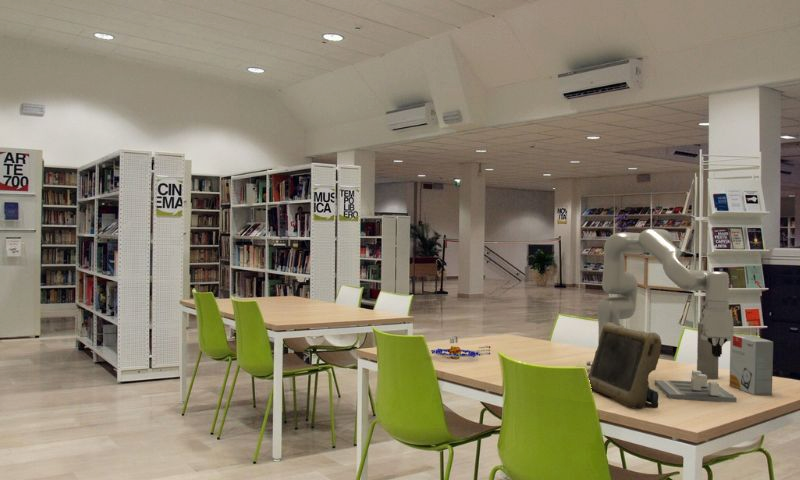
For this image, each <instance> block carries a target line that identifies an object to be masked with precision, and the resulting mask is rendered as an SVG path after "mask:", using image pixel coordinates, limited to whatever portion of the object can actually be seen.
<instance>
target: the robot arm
mask: <svg viewBox="0 0 800 480" xmlns="http://www.w3.org/2000/svg"><path fill="white" fill-rule="evenodd" d="M673 242H674V238H673V235H672V234H671V233H670V231H668V230H666V229H663V228H662V229H661V228H648V229H644V230H643V231H641V232H629V231H628V232H627V231H625V232H624V231H623V232H616V233H613V234H610V236H609V237H608V238H607V239H606V240H605V242H604V247H603V255H604V257H603V259H604V260H603V270H602V280H601V281H602V284H601V285H602V286H601V287H602V289H603V291H604V292H605V293H606V294H608V295H617V296H610V297H609V296H608V297H603V298H601V299H600V300H599V301H598V302H597V304H596V314H597V315H596V316H597V323H598V334H597V335H598V338H597V339H598V340H597V341H598V343H597V344H598V345H599V338H600V336H601V332H602V329H603V326H604V325H605V324H606V323H608V322H613V323H614V324H615V325H617V326H622V325H621V322H620V320H626V319H629V318H632V317H633V315H634V314H635V312H636V307H637V299H638V280H637V278H636V276H635V275H634V274H633V273H631V272H630V271H625V270H626V269H625V268H626V267H625V266H626V260H625V257H624V255H623V254H644V253H648V254H650V255H651V256H652V257H653V258H654V259H655V260H656V261H657V262H659V263H660V264H661V265H662V268H663V271H664V274H665V275H666V276H667V278H668V279H669V280H670V281H672V283H674V285H676V286H677V287H679V288H680V289H681V290H684V291H688V292H689V291H690V292H691V291H693V292H694V291H705V300H704V301H701V303H700V305H701V306H703V307H705V308H703V309H704V310H703V311H702V313H703V314H701V316H702V322H701V339H703V340H707V341H708V342H709V343H710V344H711V345H712V354H713V356H715V357H719V358H721V355H723V346H724V344H726V342H730V341H732V340H733V336H734V335H735V334H734V332H735V331H734V328H735V327H734V319H733V313H732V310H731V309H729V308H730V307H729V306H730V298H729V297H730V296H729V290H730V289H729V286H730V283H729V281H730V280H729V273H727V272H725V271H715V270H714V271H708V270H703V269H695V270H694V269H692V270H690V269H689V268H686V267H685V266H684V265H683V264H682V263H681V262H680V261H679V260H678V259H679V257H680V255H681V250H680V249H679V248H678V247H677V246H675V244H674V243H673ZM709 337H710V338H709ZM715 337H716V338H718V342H717V344H716V339H715ZM592 363H593V361H590V360H589V361H587V360H586V366H588V367H591V366H592Z"/></svg>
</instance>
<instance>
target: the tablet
mask: <svg viewBox="0 0 800 480" xmlns="http://www.w3.org/2000/svg"><path fill="white" fill-rule="evenodd" d="M598 338H599V337H598ZM661 348H662V339H661V336H660V335H659V333H656V332H653V331H652V332H646V331H641V330H636V329H632V328H627V327H626V326H625V325H621V326H617V325H615V324H614V323H613V322H608V323H606V324H605V325H604V326H603V329H602V332H601V336H600V338H599V345H598V346H597V348H596V350H595V353H594V357H593V361H592V362H593V363H592V366H590V370H589V372H588V375H587V379H588V378H589V380H590V384H591V387H592V389H591V390H594V391H595V392H597V393H600V394H602V395H605V396H607V397H609V398H611V399H612V400H613V399H614V400H615V401H616V402H620V403H622V404H624V405H626V406H628V407H629V408H635V409H636V410H637V409H638V410H639V409H642V408H644V407H645V406H646V404H647V403H650V404H651V406H653V407H654V408H658V407H659V391H656V390H654V389H652V388H651V387H650V381H649V375H650V374H651V373H652V372H653V371H656V370H657V366H658V363H659V359H660V357H661Z"/></svg>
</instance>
